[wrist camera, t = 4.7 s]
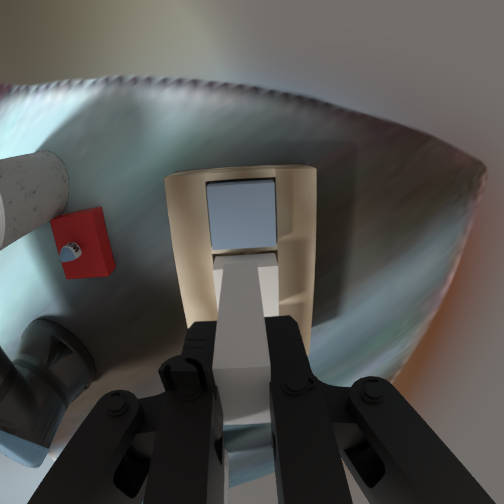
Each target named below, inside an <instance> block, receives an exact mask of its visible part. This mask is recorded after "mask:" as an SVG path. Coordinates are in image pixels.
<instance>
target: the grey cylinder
mask: <svg viewBox="0 0 504 504" xmlns="http://www.w3.org/2000/svg"><path fill="white" fill-rule="evenodd" d="M68 195H69V180H68V176H67V172H66V169H65V167H64V165H63V163H62V162H61V160H60V159H59V158H58V157H57V156H56V155H55V154H53V153H51V152H49V151H39V152H36V153H31V154H25V155H20V156H15V157H10V158H5V159H1V160H0V250H2V249H3V248H5V247H7V246H8V245H10V244H11V243H13V242H15V241H16V240H18V239H20V238H21V237H23V236H25V235H26V234H28V233H30V232H31V231H33V230H35V229H37V228H38V227H40V226H42V225H44V224H45V223H47V222H49V221H50V220H51V219H53V218H55V217H57V216H59V215H60V214H61V213H62V212H63V210H64V208H65V206H66V203H67V200H68Z"/></svg>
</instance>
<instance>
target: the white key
mask: <svg viewBox="0 0 504 504" xmlns="http://www.w3.org/2000/svg"><path fill="white" fill-rule="evenodd" d="M252 262H257V267H258V274H259V282H260V289H261V297H262V304H263V312H264V317H271V316H279V279H278V263H277V259H276V256H275V253H267V254H250V255H233V256H217V257H215V261H214V265H213V277H214V286H215V294H216V301H217V309H219V300H220V292H221V283H222V275H223V266H224V264H236V263H252Z"/></svg>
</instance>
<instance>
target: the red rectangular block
mask: <svg viewBox="0 0 504 504" xmlns="http://www.w3.org/2000/svg"><path fill="white" fill-rule="evenodd" d="M50 223H51V227H52V231H53V235H54V239H55V243H56V246H57V250H58V253H59V257H60V262H61V263H62V266H63V269H64V273H65V276H66V279H78V278H92V277H106V276H109V275H110V274H111V273H112V272H113V270H114V269H115V268H116V266H115V262H114V258H113V254H112V250H111V246H110V242H109V238H108V234H107V230H106V225H105V221H104V216H103V211H102V207H97V208H91V209H86V210H81V211H76V212H71V213H66V214H62V215H59V216H57V217H55V218H53V219H51V220H50Z"/></svg>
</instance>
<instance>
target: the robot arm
mask: <svg viewBox="0 0 504 504" xmlns="http://www.w3.org/2000/svg"><path fill="white" fill-rule="evenodd" d="M158 372H159V375H160V378H161V380H162V383H163V386H164V388H165V392H163V393H161V394H159V395H155V396H151V397H146V398H141V399H137V398H136V396H135V395H134V394H133V393H131V392H129V391H126V390H115V391H111V392H109V393H107V394H105V395H104V396H103V397H102V398H100V399H99V401H98V402H97V403H96V405H95V406H94V407H93V409H92V410H91V412H90V413H89V414H88V416H87V417H86V418H85V420H84V421H83V423H82V424H81V425H80V427H79V428H78V430H77V431H76V432H75V434H74V435H73V437H72V438H71V439H70V441H69V442H68V444H67V445H66V447H65V448H64V449H63V451H62V452H61V454H60V455H59V457H58V458H57V460H56V461H55V462H54V464H53V466H52V467H51V468H50V470H49V472H48V473H47V474H46V476H45V477H44V479H43V480H42V482H41V483H40V485H39V486H38V488H37V489H36V491H35V492H34V494H33V495H32V497H31V499H30V500H29V502H28V503H27V504H142V502H143V504H224V456H225V438H224V434H223V421H224V425H235V424H257V423H271V428H272V448H273V455H274V465H275V475H276V485H277V495H278V504H353V502H352V498H351V495H350V491H349V486H348V483H347V479H346V475H345V471H344V467H343V463H342V460H341V458H342V459H343V461H344V463H345V464H346V466H347V468H348V469H349V471H350V473H351V474H352V476H353V477H354V479H355V481H356V482H357V484H358V485H359V487H360V488H361V490H362V492H363V493H364V495H365V497H366V498H367V500H368V501H369V503H370V504H496V503H495V502H494V501H493V500H492V499H491V498H490V496H489V495H488V494H487V493H486V492H485V490H484V489H483V488H482V487H481V486H480V484H479V483H478V482H477V481H476V480H475V478H474V477H473V476H472V475H471V474H470V473H469V471H468V470H467V469H466V468H465V467H464V466H463V464H462V463H461V462H460V461H459V460H458V459H457V458H456V456H455V455H454V454H453V453H452V452H451V451H450V449H449V448H448V447H447V446H446V445H445V444H444V443H443V441H442V440H441V439H440V438H439V437H438V436H437V435H436V434H435V432H434V431H433V430H432V429H431V428H430V427H429V425H428V424H427V423H426V422H425V421H424V420H423V419H422V418H421V416H420V415H419V414H418V413H417V412H416V411H415V410H414V408H413V407H412V406H411V405H410V404H409V403H408V402H407V401H406V400H405V398H404V397H403V396H402V395H401V394H400V393H399V392H398V391H397V389H396V388H395V387H394V386H393V385H392V384H391V383H390V382H388V381H387V380H385V379H383V378H380V377H373V376H368V377H364V378H360V379H359V380H357V381H356V382H354V383H353V385H352V386H351V387H339V386H332V385H328V384H325V383H323V382H321V381H320V380H318V379H317V377H316V376H314V375H313V373H312V371H311V368H310V364H309V361H308V357H307V354H306V350H305V347H304V343H303V340H302V336H301V334H300V329H299V326H298V323H297V322H296V321H295V320H294V319H293V318H292V317H291V316H290V315H284V316H271V317H264V312H263V304H262V297H261V289H260V282H259V274H258V267H257V262H252V263H236V264H224V266H223V275H222V283H221V292H220V300H219V309H218V318H217V321H195V322H194V323H193V324H192V325H191V326H190V327H189V328H188V330H187V333H186V337H185V341H184V346H183V350H182V354H181V355H177V356H175V357H172V358H170V359H168V360H166V361H165V362H164V363H163V364H162V365H161V366H160V368H159V370H158ZM94 376H95V366H94V363H93V360H92V358H91V356H90V354H89V353H88V351H87V350H86V348H85V347H84V346H83V345H82V343H81V342H80V341H79V340H78V339H77V338H76V337H75V336H74V335H72V334H71V333H70V332H69V331H67V330H66V329H65V328H63V327H62V326H60V325H58V324H56V323H54V322H51V321H48V320H43V319H38V320H34V321H33V322H31V323H30V324H29V325H28V327H27V328H26V329H25V330H24V332H23V334H22V338H21V342H20V344H19V347H18V350H17V353H16V356H15V359H14V360H13V362H11V360H10V359H9V358H8V356H7V355H6V354H5V352H4V351H3V349H2V348H1V346H0V453H2V454H4V455H5V456H7V457H9V458H10V459H12V460H14V461H16V462H18V463H20V464H22V465H24V466H27V467H30V468H38V467H40V465H41V464H42V463H43V461H44V459H45V457H46V455H47V453H48V452H49V451H50V450H49V449H50V446H51V444H52V441H53V439H54V437H55V434H56V432H57V430H58V428H59V425H60V423H61V421H62V419H63V417H64V414H65V412H66V410H67V408H68V406H69V404H70V403H71V402H73V401H74V400H75V399H76V398H77V397H78V396H79V395H80V394H81V393H82V392H84V391H85V390H87V389H88V388H89V386H90V385H91V383H92V381H93V379H94ZM143 499H144V500H143Z"/></svg>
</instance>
